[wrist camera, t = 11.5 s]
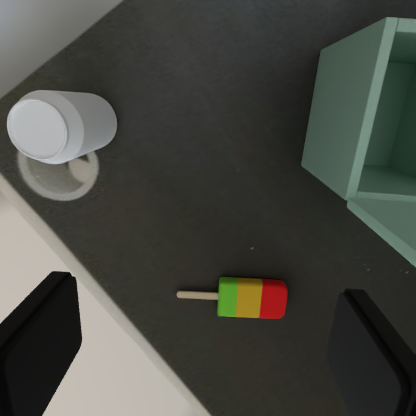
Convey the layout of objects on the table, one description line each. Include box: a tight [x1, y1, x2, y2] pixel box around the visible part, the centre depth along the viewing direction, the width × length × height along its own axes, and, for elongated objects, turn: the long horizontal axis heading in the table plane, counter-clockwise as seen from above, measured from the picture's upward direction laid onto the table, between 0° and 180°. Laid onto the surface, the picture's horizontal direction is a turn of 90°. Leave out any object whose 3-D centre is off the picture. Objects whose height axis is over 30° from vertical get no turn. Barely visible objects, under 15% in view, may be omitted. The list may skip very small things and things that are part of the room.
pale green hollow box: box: [301, 17, 416, 203], centre depth 29 cm, size 13×11×14 cm
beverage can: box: [7, 90, 117, 164], centre depth 31 cm, size 6×6×12 cm
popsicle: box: [177, 277, 288, 319], centre depth 43 cm, size 6×15×2 cm, turn 88°
